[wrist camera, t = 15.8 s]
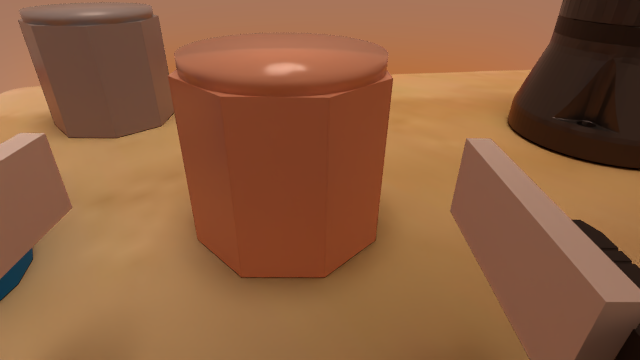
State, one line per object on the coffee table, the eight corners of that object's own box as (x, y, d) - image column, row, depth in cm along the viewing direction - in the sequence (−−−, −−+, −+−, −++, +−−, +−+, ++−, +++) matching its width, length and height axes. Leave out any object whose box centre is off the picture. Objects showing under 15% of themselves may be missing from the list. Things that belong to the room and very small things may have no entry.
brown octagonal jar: (184, 102, 42) (167, 3, 37) (150, 138, 33) (122, 15, 29) (93, 101, 42) (64, 1, 37) (34, 137, 33) (-14, 13, 28)
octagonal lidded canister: (361, 178, 28) (373, 33, 23) (383, 277, 19) (409, 77, 14) (223, 177, 28) (205, 31, 23) (181, 277, 19) (136, 74, 14)
